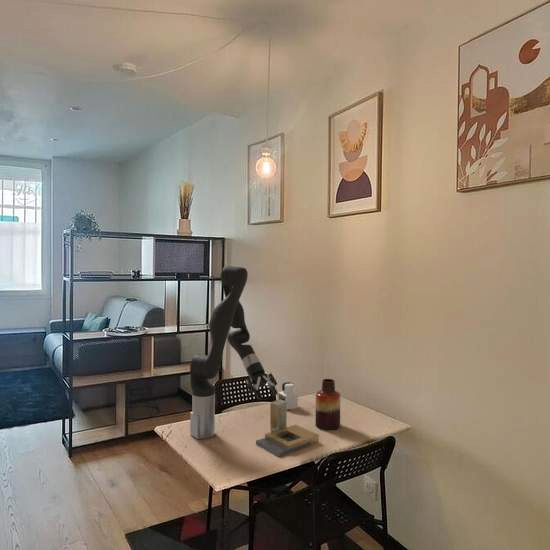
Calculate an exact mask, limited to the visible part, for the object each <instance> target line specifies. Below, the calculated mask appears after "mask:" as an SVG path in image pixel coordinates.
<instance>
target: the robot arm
mask: <svg viewBox="0 0 550 550" xmlns="http://www.w3.org/2000/svg"><path fill="white" fill-rule="evenodd" d="M248 276H249V275H248V270H247V268H245V267H241V266H234V265H233V266H232V265H226V266H224V267H223V268H222V270H221V273H220V280H221V281H220V282H221V286H222V289H223V293H224V297H225V298H224V299H223V300H221V301H220V302H219V303H218V304H217V305H216V306H215V307H214V309H213V311H212V314H211V316H210V320H209V324H208V327H209V333H210V337H211V347H210V352H209V354H207V355H206V354H200V353H199V354H194V356H193V357H191V360H190V365H189V377H190V379H189V380H190V389H191V390H192V394H191V395H192V401H191V403H192V407H191V408H192V409H191V410H192V411H190V416H189V417H190V418H189V421H190V423H189V425H190V427H189V433H190V436H192V437H193V438H195V439H197V440H200V439H203V440H204V439H210V438H212V437H214V436H215V431H216V430H215V429H216V428H215V426H216V425H215V424H216V422H215V421H216V417H215V416H216V415H215V413H216V412H215V411H216V387H215V385H214V384H212V383H211V382H210V381H209V379H210V380H212V379H214V378H215V377H217V376H218V373H219V371H220V368H221V362H222V358H223V354H224V349H225V345H226V343H227V342H228V343H229V345H230V346H231V348H233V349H234V350H235V352H236V353H237V354H238V355H239V358H240V360H241V361H242V364H243V368H244V369H245V371H246V373H247V375H248V377H247V378H246V379H245V384H246V387H247V389H248V391H249V393H254V395H255V397H256V399H258V401H261V400H262V399H263V395H262V394H261V392H260V390H259V387H264V386H265V387H268V388H269V389H270V391H271V394H272V395H273V396H274V397H276V396H277V395H278V391H277V388H276V386H277V384H278V382H277V380H276V378H275V377H274V375H273V374H272V373H271V372H270V373H269V374H267V373H266V371H265V369H264V366H263V365H262V363H261V361H260V359H259V357H258V355H257V354H256V353H255V350H254V348H253V346H252V345H251V344H247V343H248V342H249V341H250V339H251V335H250V332H249V330H248V327H247V325H246V321H245V311H244V310H245V309H244V307H243V305H242V303H241V301H240V299H241V297H242V294H243V291H244V290H245V287H246V284H247V281H248ZM231 328H232V329H235V330H232V331H230V329H231Z"/></svg>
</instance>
